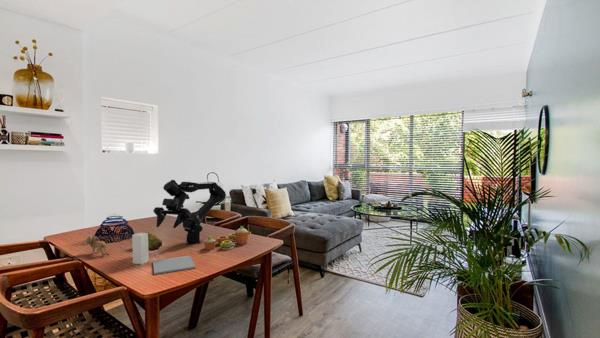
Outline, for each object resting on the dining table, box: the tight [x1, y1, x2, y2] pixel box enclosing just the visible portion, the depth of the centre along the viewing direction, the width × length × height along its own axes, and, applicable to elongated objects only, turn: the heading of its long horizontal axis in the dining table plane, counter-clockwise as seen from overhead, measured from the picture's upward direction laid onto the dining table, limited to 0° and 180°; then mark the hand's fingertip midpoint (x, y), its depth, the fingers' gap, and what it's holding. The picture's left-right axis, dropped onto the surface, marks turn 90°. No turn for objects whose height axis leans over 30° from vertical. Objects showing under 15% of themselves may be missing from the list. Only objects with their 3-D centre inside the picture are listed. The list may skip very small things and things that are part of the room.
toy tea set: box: [203, 226, 252, 251], centre depth 164 cm, size 26×16×10 cm, turn 150°
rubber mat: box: [152, 255, 196, 276], centre depth 133 cm, size 16×16×1 cm
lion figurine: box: [84, 234, 111, 258], centre depth 147 cm, size 15×5×9 cm, turn 69°
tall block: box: [131, 231, 149, 265], centre depth 137 cm, size 4×4×13 cm
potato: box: [142, 231, 163, 250], centre depth 158 cm, size 8×13×8 cm, turn 56°
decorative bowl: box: [93, 212, 135, 244], centre depth 176 cm, size 20×20×14 cm
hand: (165, 227), depth 147 cm, fingers open, 9 cm apart
